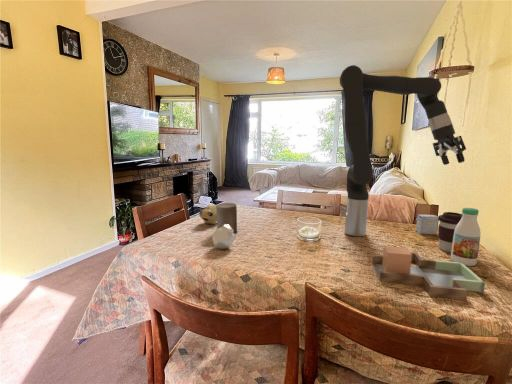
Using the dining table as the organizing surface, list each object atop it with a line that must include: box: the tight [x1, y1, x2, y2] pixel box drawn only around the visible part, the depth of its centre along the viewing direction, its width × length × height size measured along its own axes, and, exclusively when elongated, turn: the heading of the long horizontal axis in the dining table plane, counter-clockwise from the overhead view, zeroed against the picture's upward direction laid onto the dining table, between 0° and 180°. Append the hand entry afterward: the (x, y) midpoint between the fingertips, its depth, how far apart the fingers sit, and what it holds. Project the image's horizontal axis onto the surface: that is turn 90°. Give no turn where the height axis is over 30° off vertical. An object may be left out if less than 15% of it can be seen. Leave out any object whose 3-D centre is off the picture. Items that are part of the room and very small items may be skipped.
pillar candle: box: [215, 202, 238, 235], centre depth 134 cm, size 10×10×15 cm
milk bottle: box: [450, 207, 482, 267], centre depth 101 cm, size 8×8×20 cm
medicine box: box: [415, 214, 440, 235], centre depth 134 cm, size 8×4×9 cm, turn 84°
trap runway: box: [371, 251, 484, 301], centre depth 91 cm, size 28×26×4 cm
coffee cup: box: [437, 211, 462, 253], centre depth 113 cm, size 10×10×15 cm
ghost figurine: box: [212, 224, 236, 250], centre depth 115 cm, size 9×9×10 cm
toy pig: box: [198, 203, 217, 225], centre depth 149 cm, size 10×12×11 cm
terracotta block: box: [382, 245, 412, 274], centre depth 92 cm, size 7×6×8 cm
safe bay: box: [435, 259, 486, 294], centre depth 89 cm, size 8×14×4 cm, turn 167°
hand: (454, 163), depth 116 cm, fingers open, 8 cm apart
